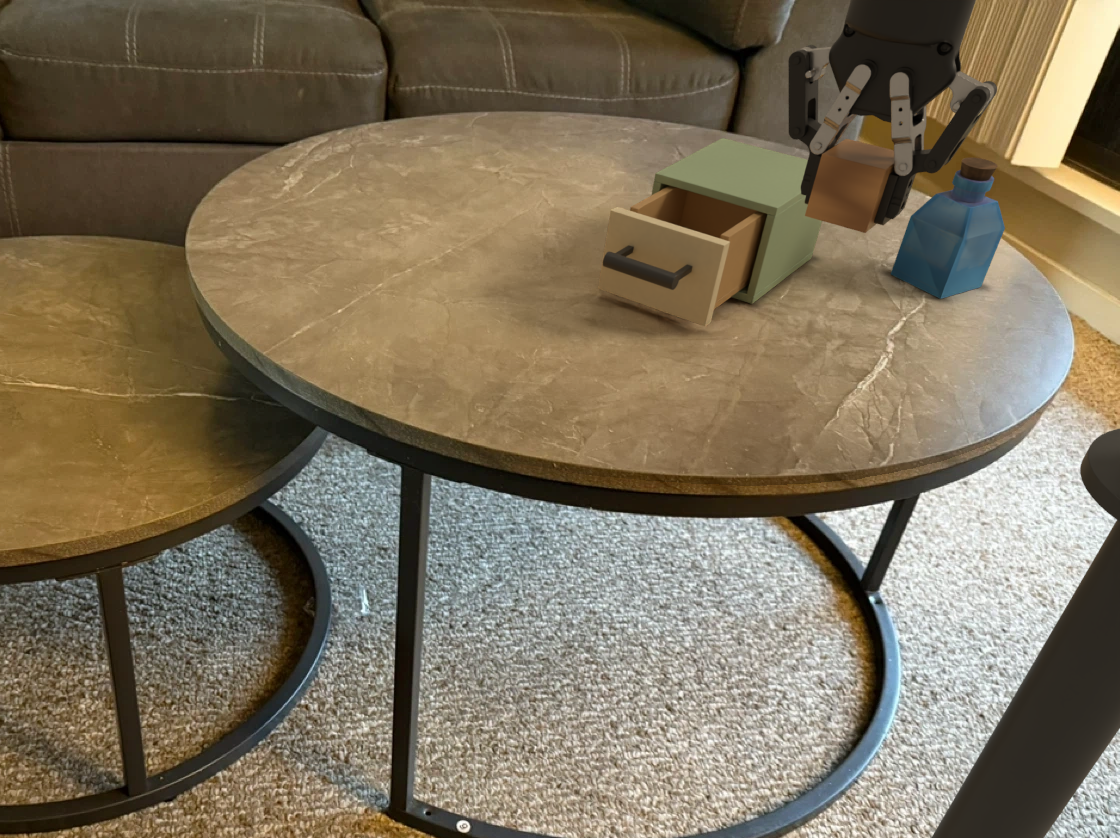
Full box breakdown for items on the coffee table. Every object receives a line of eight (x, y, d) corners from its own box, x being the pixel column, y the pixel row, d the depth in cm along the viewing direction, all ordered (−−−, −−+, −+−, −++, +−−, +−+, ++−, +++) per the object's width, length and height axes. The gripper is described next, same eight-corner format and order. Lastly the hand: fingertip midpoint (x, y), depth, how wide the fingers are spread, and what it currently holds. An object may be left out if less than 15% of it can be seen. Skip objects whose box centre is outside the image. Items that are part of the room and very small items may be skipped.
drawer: (683, 343, 94) (702, 260, 89) (574, 303, 99) (586, 223, 94) (767, 279, 105) (788, 203, 100) (664, 246, 110) (679, 172, 105)
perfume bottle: (940, 298, 105) (986, 179, 97) (890, 274, 109) (931, 157, 101) (981, 286, 107) (1029, 169, 100) (930, 263, 111) (973, 148, 104)
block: (887, 215, 79) (908, 153, 76) (865, 233, 76) (885, 169, 73) (828, 199, 81) (845, 138, 78) (804, 216, 78) (821, 153, 75)
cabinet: (752, 304, 102) (777, 208, 96) (637, 265, 108) (655, 173, 102) (811, 258, 111) (838, 167, 105) (703, 225, 117) (722, 137, 111)
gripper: (796, -57, 69) (736, 200, 79) (1029, -21, 62) (928, 255, 73) (839, -71, 73) (777, 174, 84) (1061, -39, 66) (962, 223, 77)
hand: (847, 210), depth 78 cm, fingers closed on block, 4 cm apart
